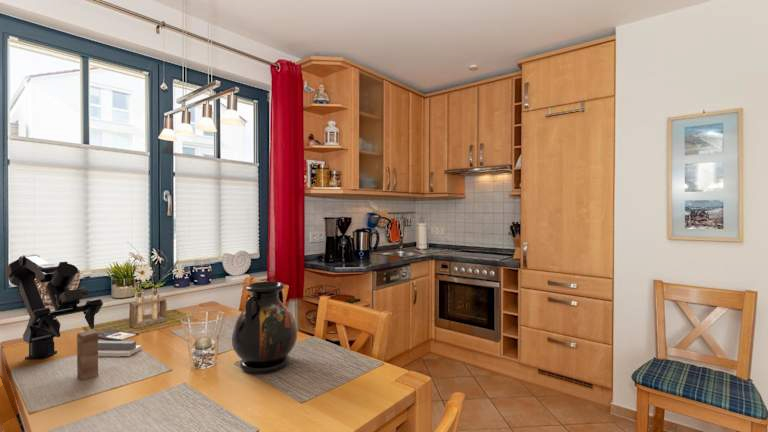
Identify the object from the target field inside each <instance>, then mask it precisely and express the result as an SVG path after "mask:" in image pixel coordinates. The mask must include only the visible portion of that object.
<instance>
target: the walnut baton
mask: <svg viewBox="0 0 768 432" xmlns="http://www.w3.org/2000/svg"><path fill="white" fill-rule="evenodd" d="M98 332H99V331H96V330H93V329H90V330H87V331H83V332H80V333H77V334H76V364H77V365H76V368H77V370H76V371H77V372H76V373H77V375H76V377H77V378H78V377H79V378H78V379H80V378H81V379H80V380H82V379H83V380H82V381H85V380H84V379H86V380H88V379H87V378H89V379H91V378H90V377H92V378H94V377H96V375H97V376H99V356H98V341H99V339H98Z"/></svg>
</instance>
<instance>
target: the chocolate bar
mask: <svg viewBox="0 0 768 432" xmlns="http://www.w3.org/2000/svg"><path fill="white" fill-rule="evenodd" d="M97 332H98V340H103V341H125V340H127V339H129V338H133V337H136V336H138V335H140V334H139V333H138V332H131V331H124V330H119V329H111V328H106V329H104V330H100V331H97Z"/></svg>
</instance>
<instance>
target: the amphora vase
mask: <svg viewBox="0 0 768 432" xmlns="http://www.w3.org/2000/svg"><path fill="white" fill-rule="evenodd" d="M284 288H285V284H284V283H282V282H279V281H258V282H253V283H249V284H247V285H246V286H245V290H246V291H247V292H249V293H251V296H250V297H248V298H247V299H246V303H245V307H244V308H243V309H244V310H243V311H242V312H241V313H240V314H239V315H238V317H237V319H236V321H235V324H234V326H233V329H232V330H233V331H232V336H231V345H232V349H233V351H234V352H235V354H236V355H237V356H238V358H240V359H241V360H240V363H239V367H240V368H241V369H242V371H244V372H245V373H249V374H256V375H257V374H260V375H261V374H268V373H269V374H270V373H274V372H276V371H279V370H282V369H283V368H285V367H286V366H287V365H288V364H289V363H290V360H291V358H290V355H289V354H290V353H291V352H292V350H293V348H294V347H295V345H296V343H297V339H298V329H297V323H296V321H295V317H294V316H293V314H292V312H291V310H290V309H289V308H288V307H287V306H286V305H285V304H284V294H283V289H284Z"/></svg>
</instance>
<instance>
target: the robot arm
mask: <svg viewBox="0 0 768 432" xmlns="http://www.w3.org/2000/svg"><path fill="white" fill-rule="evenodd" d="M78 272H79V268H78V267H76V266H75V265H73V264H71V263H68V261H59V263H50V262H48V261H46V260H45V259H43V258H41V257H40V255H39V254H26V255H21V256H19V257H18V259H16V260H13V261H12V262H11V263H8V266H6V268H5V277H6V278H7V279H8V280H9V282H10V284H12V285H13V286H15V287H17V288H18V289H19V292H20V295H21V298H22V300H23V303H24V305H25V308H26V310H27V313H28V316H29V318H28V323H27V325H26V327H25V330H24V333H23V334H22V340H23V342H25V343H27V344H28V355H27V356H25V357H24V359H26V360H31V359H32V360H33V359H35V360H42V359H44V358H48V357H49V356H52V355H54V354H56V353H58V350H55V341H54V338H55V337H57V338H60V336H61V332H60V330H61V325H62V324H61V323H60V321H59V319H58V318H57V317H60V316H68V315H73V314H78V313H82V312H83V314H84V318H85V321H86V323H87V324H88V327H89V328H90V330H93V329H94V328H95V316H96V314H98V313H99V312H100V310H101V309H102V307H103V305H104V303H103V302H104V301H102V299H100V298H95V299H89V300H86V302H85V304H84V305H80V306H79V304H80V303H81V301H80V300H81V299H83V298H85V297H86V296H88V295H89V291H88V288H87V287H86V285H84V286H79V288H75V289H70V286H71V285H72V284H73V281H75V278H76V276H77V274H78ZM35 279H36V280H35ZM36 281H38V282H39V283H40V284H46V283H47V284H46V286H45V294H47V295H48V297H49V300H50V306H51V307H53V309H54V310H51V309H50V308H49V307H46V306H45V303H44V300H43V298H42V295H41V293H40V291H39V289H38V285H37V283H36Z"/></svg>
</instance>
